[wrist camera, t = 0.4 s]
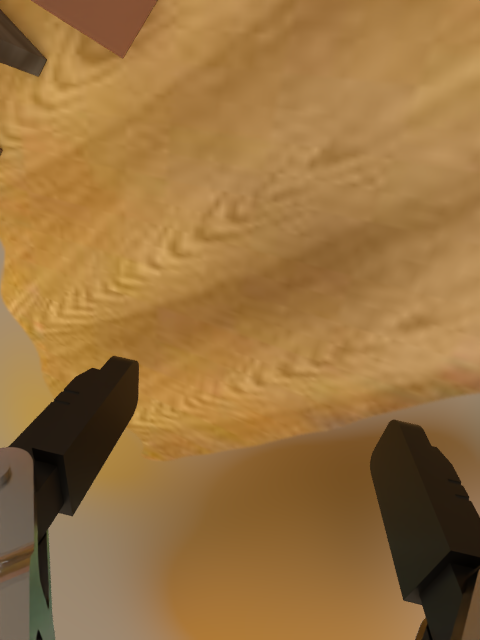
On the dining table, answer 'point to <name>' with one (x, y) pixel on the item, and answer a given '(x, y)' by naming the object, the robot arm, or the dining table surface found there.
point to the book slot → (18, 49)
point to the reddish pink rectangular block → (103, 19)
